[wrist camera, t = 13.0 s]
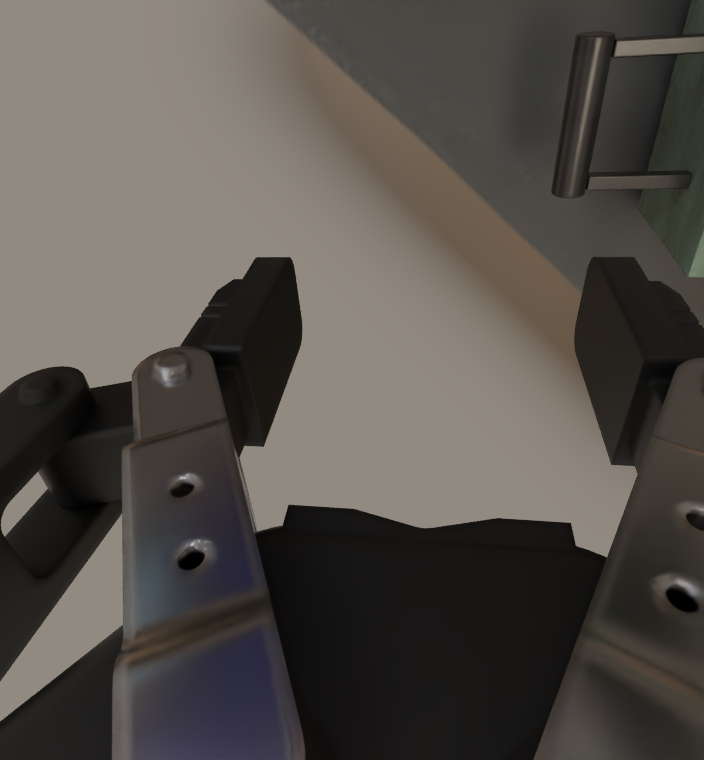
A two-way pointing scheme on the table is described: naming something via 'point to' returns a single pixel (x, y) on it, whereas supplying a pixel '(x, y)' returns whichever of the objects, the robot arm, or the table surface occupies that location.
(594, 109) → the storage drawer
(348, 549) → the robot arm
